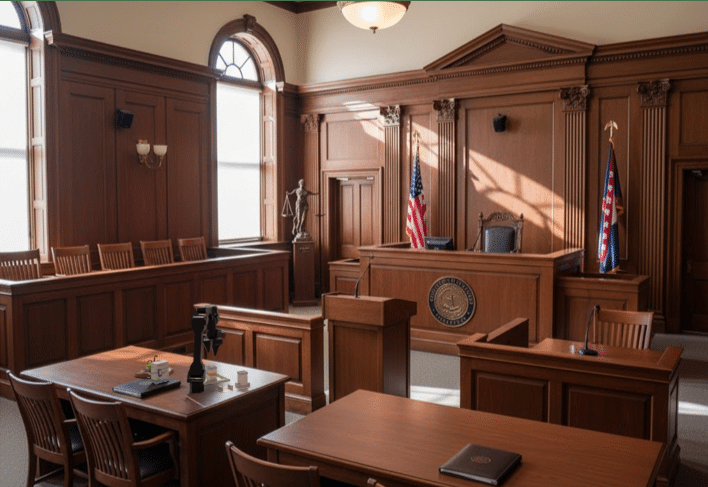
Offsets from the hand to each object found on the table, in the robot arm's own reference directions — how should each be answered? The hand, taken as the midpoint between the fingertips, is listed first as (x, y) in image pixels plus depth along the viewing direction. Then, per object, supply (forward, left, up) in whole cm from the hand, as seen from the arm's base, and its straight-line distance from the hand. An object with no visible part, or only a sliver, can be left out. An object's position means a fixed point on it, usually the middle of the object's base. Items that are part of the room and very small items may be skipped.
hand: (211, 354), depth 377 cm
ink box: (-28, +6, -14) cm, 32 cm away
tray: (-4, -9, -13) cm, 16 cm away
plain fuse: (+4, -31, -12) cm, 33 cm away
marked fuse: (-4, -9, -13) cm, 16 cm away
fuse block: (-1, -31, -13) cm, 34 cm away
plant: (-24, +27, -14) cm, 38 cm away
